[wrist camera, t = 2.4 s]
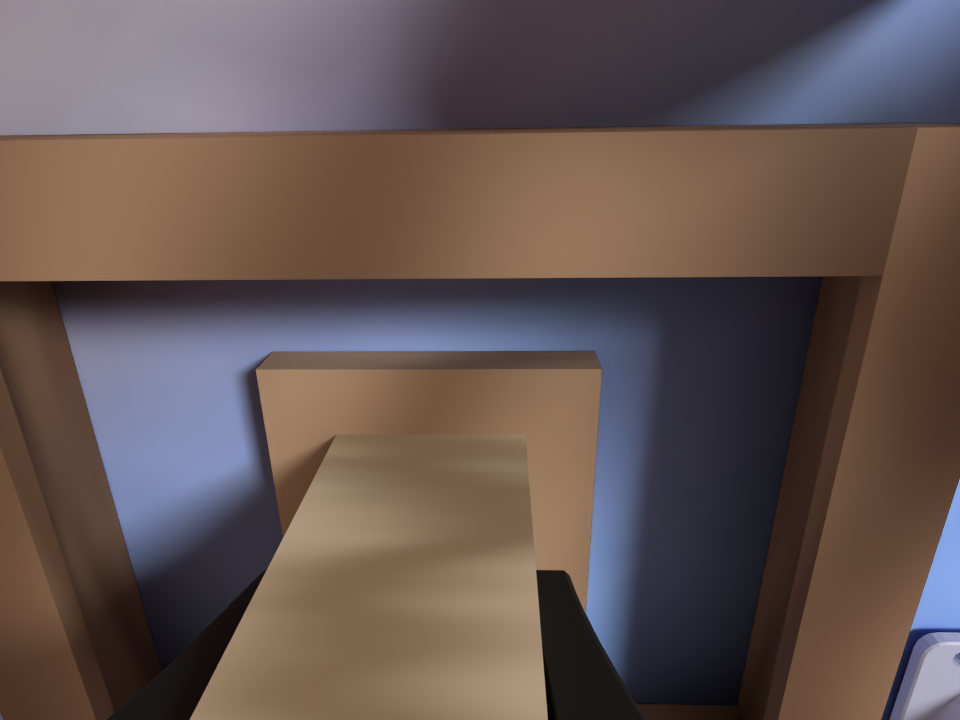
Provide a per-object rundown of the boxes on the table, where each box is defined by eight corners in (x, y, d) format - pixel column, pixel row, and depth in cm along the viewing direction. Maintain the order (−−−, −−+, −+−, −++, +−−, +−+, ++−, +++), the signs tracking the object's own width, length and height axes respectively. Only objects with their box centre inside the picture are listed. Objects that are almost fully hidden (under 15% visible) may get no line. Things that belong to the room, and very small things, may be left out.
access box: (908, 123, 11) (1074, 125, 8) (768, 731, 17) (830, 875, 14) (-40, 136, 12) (-243, 143, 9) (141, 719, 18) (61, 854, 15)
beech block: (525, 435, 13) (551, 765, 6) (523, 586, 14) (542, 979, 8) (336, 434, 13) (170, 758, 6) (353, 584, 14) (232, 969, 8)
